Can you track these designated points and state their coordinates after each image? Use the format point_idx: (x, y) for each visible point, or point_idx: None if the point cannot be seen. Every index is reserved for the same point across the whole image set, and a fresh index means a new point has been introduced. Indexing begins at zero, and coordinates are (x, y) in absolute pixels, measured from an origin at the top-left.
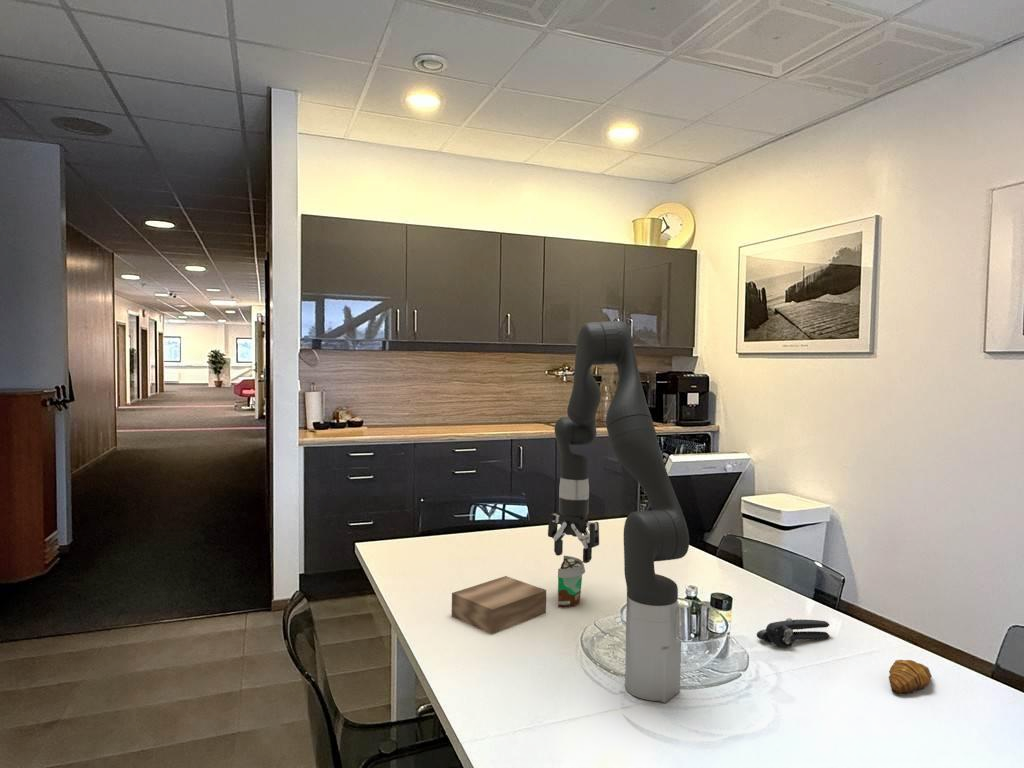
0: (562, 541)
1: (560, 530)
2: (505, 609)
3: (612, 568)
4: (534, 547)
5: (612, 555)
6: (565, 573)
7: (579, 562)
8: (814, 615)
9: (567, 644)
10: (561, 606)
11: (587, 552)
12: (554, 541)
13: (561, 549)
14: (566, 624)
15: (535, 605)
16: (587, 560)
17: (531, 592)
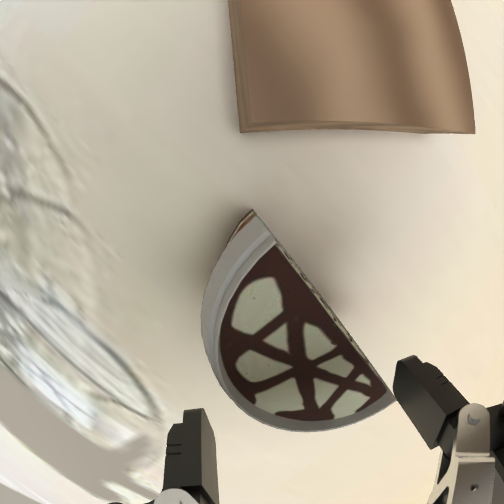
0: (427, 442)
1: (472, 496)
2: None
3: (339, 471)
4: (496, 396)
5: (374, 485)
6: (228, 264)
7: (300, 419)
8: (21, 486)
9: (30, 50)
10: (243, 218)
11: (173, 470)
12: (467, 402)
13: (407, 404)
14: (116, 126)
15: (238, 62)
16: (176, 428)
17: (274, 45)
